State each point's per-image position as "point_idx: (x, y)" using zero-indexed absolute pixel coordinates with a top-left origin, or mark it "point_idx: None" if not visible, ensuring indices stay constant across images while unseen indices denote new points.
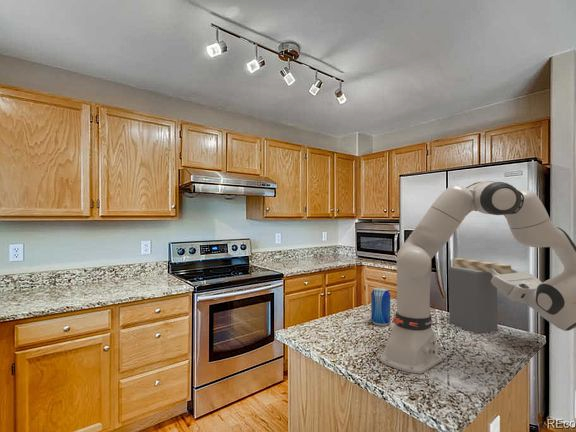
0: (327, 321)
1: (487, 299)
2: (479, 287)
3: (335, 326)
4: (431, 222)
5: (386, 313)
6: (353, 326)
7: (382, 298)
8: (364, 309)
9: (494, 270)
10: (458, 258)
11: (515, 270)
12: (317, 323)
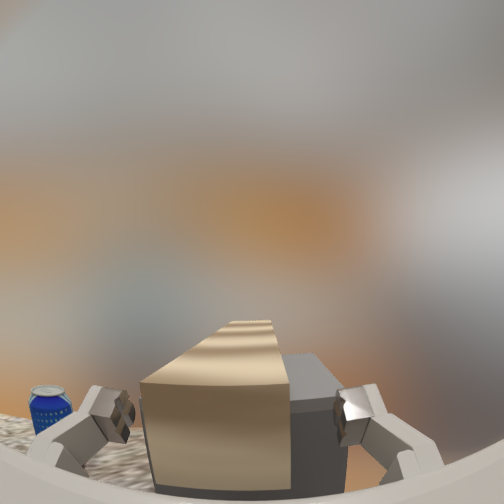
0: (24, 424)
1: None
2: (173, 489)
3: (7, 432)
4: None
5: None
6: (21, 445)
7: (30, 410)
8: (132, 433)
9: (83, 409)
10: (258, 320)
11: (401, 432)
12: (9, 420)
